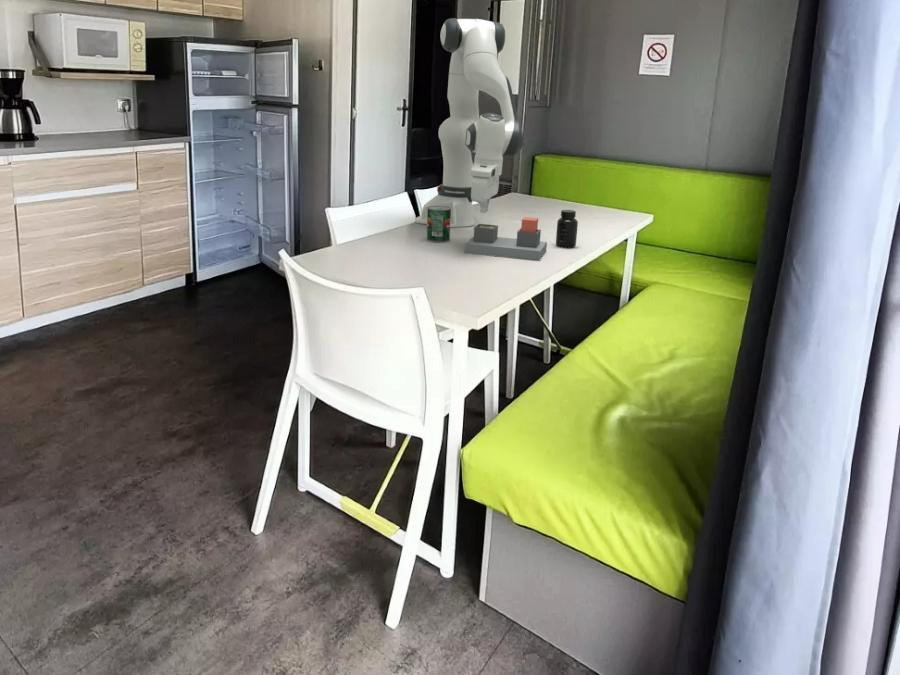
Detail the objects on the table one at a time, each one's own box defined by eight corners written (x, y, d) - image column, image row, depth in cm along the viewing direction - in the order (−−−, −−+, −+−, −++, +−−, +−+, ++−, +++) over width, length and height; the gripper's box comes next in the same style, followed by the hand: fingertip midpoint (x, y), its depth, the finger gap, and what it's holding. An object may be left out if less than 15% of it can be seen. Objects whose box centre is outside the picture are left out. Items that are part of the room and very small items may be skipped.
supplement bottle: (561, 242, 247) (565, 208, 243) (579, 246, 243) (583, 211, 239) (551, 246, 242) (554, 210, 237) (568, 249, 238) (572, 213, 233)
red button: (521, 232, 225) (521, 219, 224) (523, 229, 229) (524, 217, 228) (534, 233, 224) (535, 220, 223) (537, 230, 228) (538, 218, 227)
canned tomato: (423, 237, 246) (424, 205, 242) (445, 236, 248) (446, 205, 244) (430, 243, 239) (432, 210, 235) (453, 242, 241) (454, 209, 237)
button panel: (464, 252, 228) (465, 229, 225) (475, 243, 240) (476, 221, 238) (539, 260, 222) (541, 236, 219) (546, 250, 234) (548, 227, 232)
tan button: (477, 240, 230) (477, 227, 229) (480, 237, 234) (481, 225, 233) (490, 241, 229) (491, 229, 228) (493, 238, 233) (494, 226, 232)
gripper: (486, 163, 234) (482, 205, 239) (469, 170, 215) (465, 216, 220) (505, 165, 232) (501, 208, 237) (489, 173, 214) (485, 218, 219)
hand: (483, 212), depth 229 cm, fingers closed
